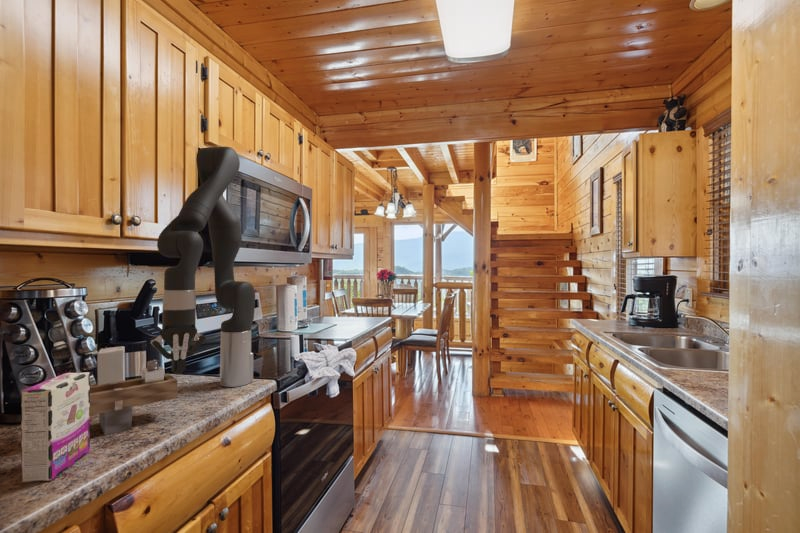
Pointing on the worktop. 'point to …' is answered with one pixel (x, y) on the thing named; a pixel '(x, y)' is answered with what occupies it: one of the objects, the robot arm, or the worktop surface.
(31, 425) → the candy bar box
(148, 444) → the worktop surface
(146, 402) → the beam
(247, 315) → the robot arm
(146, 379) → the rider
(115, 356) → the skincare box
